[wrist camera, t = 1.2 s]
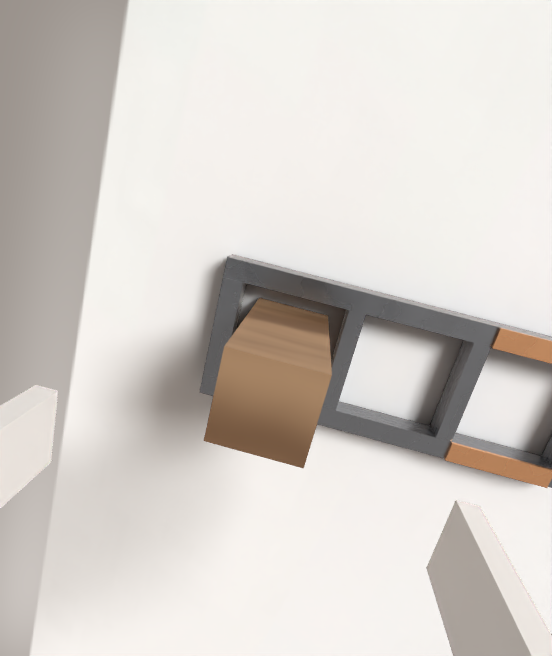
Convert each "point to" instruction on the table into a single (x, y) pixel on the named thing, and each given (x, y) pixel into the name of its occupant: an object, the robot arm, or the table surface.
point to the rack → (357, 304)
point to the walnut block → (272, 383)
